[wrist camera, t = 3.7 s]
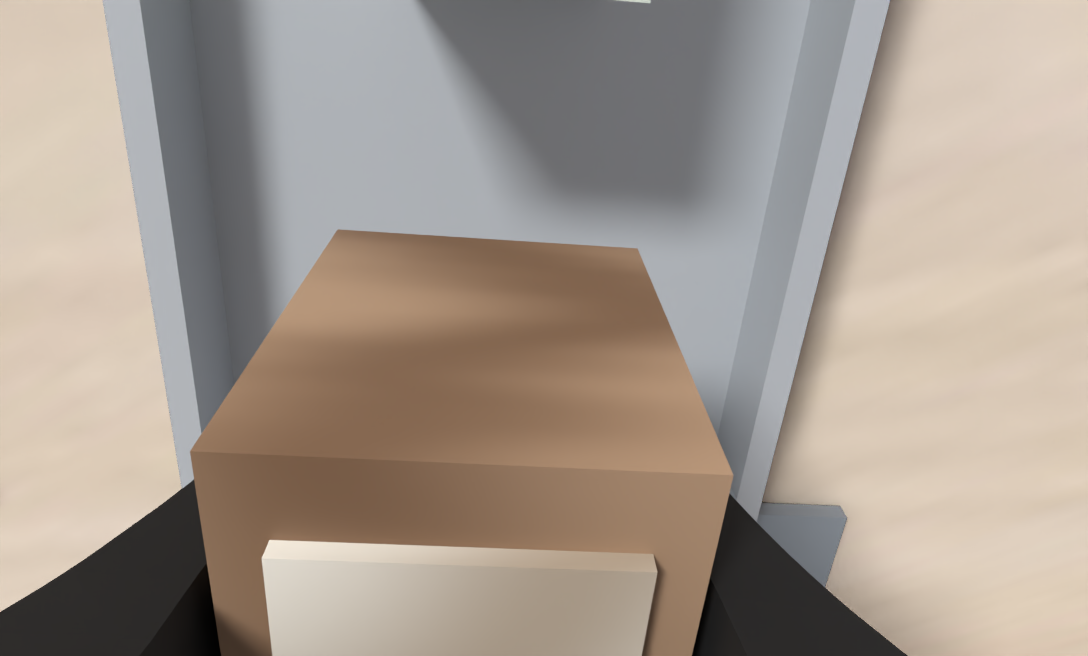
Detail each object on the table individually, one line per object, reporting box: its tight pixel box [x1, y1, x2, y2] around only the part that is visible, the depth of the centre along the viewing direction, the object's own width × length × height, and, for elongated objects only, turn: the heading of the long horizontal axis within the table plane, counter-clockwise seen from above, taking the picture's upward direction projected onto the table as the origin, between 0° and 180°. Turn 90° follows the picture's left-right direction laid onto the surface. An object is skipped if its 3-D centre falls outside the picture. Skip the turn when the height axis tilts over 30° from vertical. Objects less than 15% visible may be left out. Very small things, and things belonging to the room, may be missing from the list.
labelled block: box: [190, 229, 734, 656], centre depth 9 cm, size 4×6×5 cm, turn 176°
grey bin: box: [103, 0, 890, 522], centre depth 14 cm, size 13×19×2 cm
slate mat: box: [757, 503, 847, 587], centre depth 22 cm, size 10×10×1 cm
